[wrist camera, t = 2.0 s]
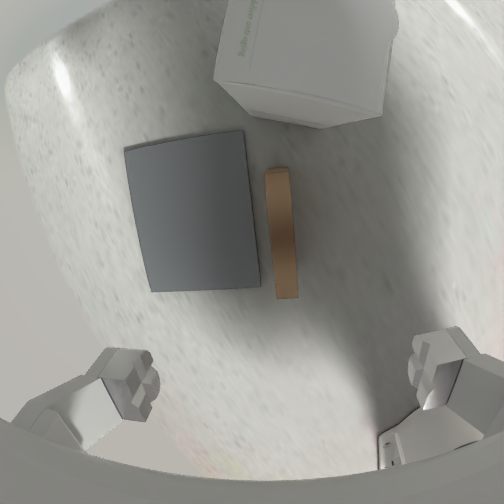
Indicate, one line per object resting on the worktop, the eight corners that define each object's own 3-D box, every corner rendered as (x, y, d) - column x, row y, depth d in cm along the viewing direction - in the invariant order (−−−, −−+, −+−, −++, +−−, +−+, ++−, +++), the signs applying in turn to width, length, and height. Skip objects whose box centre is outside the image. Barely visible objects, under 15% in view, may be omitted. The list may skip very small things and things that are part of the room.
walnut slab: (295, 267, 28) (298, 297, 22) (276, 268, 28) (275, 299, 22) (287, 167, 25) (288, 172, 19) (267, 168, 25) (262, 174, 20)
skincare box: (265, 32, 21) (244, -80, 6) (341, 47, 21) (402, -49, 6) (248, 120, 24) (200, 81, 9) (326, 135, 24) (389, 118, 9)
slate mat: (261, 285, 29) (260, 286, 28) (153, 290, 30) (151, 292, 30) (243, 130, 24) (242, 130, 24) (126, 151, 26) (124, 151, 25)
